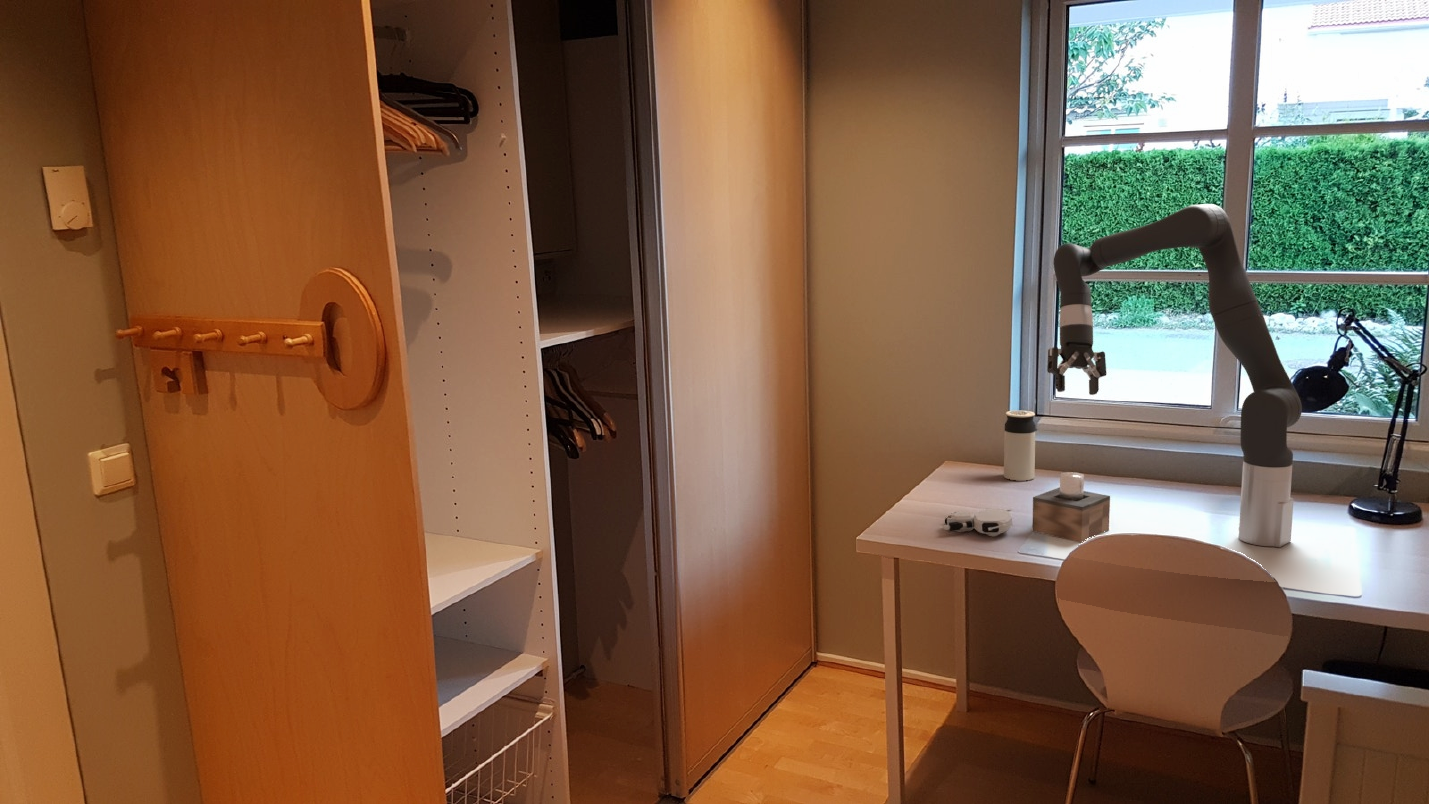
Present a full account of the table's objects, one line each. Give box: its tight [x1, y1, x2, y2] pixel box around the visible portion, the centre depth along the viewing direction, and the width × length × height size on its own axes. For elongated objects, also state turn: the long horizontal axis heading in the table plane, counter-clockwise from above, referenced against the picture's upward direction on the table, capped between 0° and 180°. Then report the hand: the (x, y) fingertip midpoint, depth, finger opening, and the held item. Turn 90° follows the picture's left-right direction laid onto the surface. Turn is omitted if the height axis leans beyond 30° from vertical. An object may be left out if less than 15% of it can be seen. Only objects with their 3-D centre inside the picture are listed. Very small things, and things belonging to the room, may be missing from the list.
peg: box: [1059, 471, 1085, 502], centre depth 228 cm, size 5×5×8 cm
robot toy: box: [941, 508, 1013, 537], centre depth 232 cm, size 12×4×15 cm
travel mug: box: [1003, 409, 1036, 482], centre depth 275 cm, size 8×8×18 cm
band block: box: [1031, 486, 1111, 543], centre depth 229 cm, size 12×12×8 cm
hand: (1077, 392), depth 241 cm, fingers open, 8 cm apart
